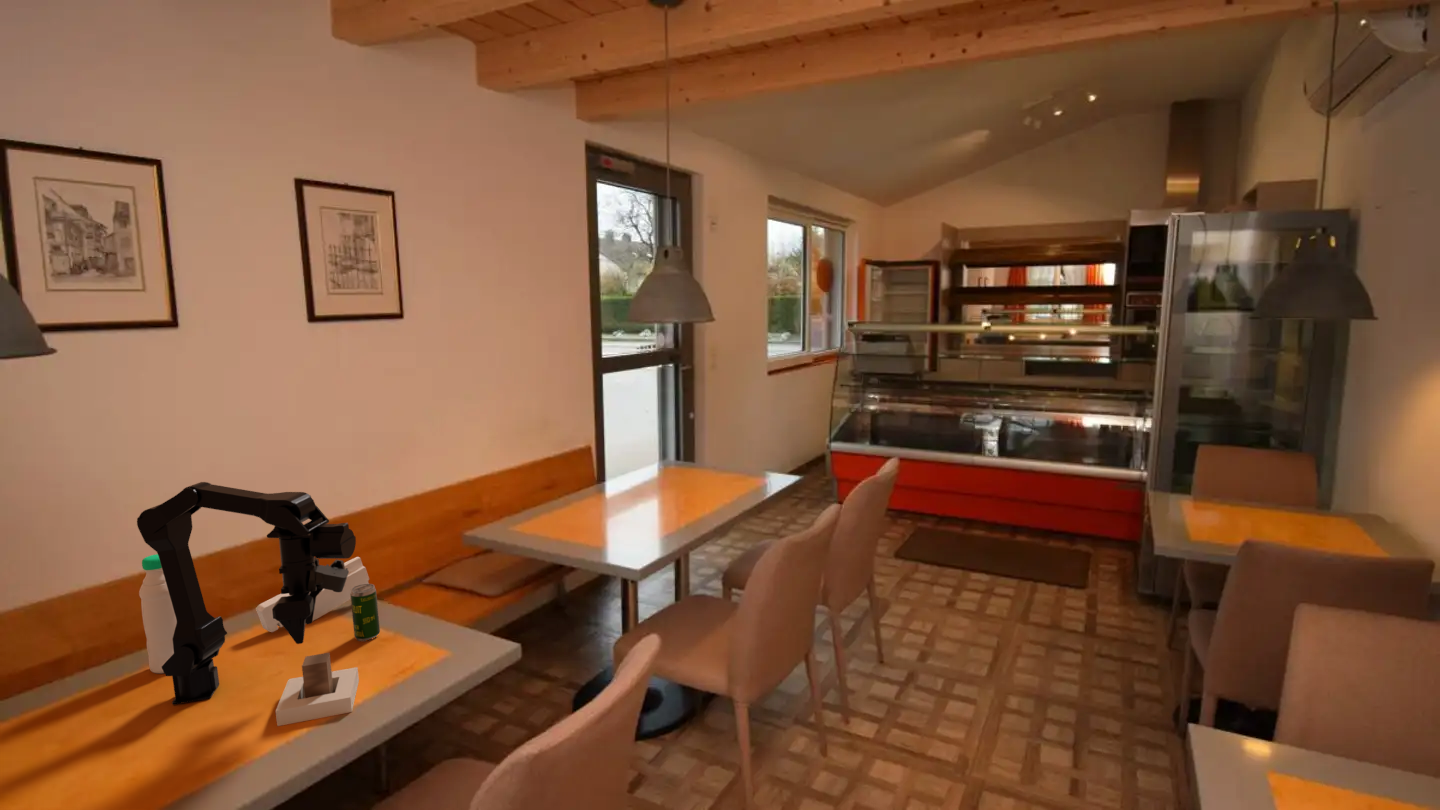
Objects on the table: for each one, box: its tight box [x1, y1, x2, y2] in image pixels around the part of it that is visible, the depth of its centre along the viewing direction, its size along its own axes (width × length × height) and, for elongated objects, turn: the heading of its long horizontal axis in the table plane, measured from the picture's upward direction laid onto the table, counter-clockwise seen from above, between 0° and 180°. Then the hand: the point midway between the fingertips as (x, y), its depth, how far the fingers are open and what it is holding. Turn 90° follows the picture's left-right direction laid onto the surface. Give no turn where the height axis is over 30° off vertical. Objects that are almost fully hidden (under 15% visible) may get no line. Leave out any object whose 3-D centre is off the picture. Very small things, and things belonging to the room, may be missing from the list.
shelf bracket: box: [255, 556, 370, 633], centre depth 184 cm, size 6×25×13 cm, turn 143°
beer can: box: [350, 583, 381, 642], centre depth 172 cm, size 5×5×12 cm
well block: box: [275, 666, 360, 727], centre depth 144 cm, size 12×12×3 cm
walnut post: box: [301, 652, 335, 698], centre depth 144 cm, size 4×4×9 cm
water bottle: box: [138, 553, 177, 674], centre depth 158 cm, size 7×7×25 cm
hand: (304, 633), depth 147 cm, fingers open, 9 cm apart
